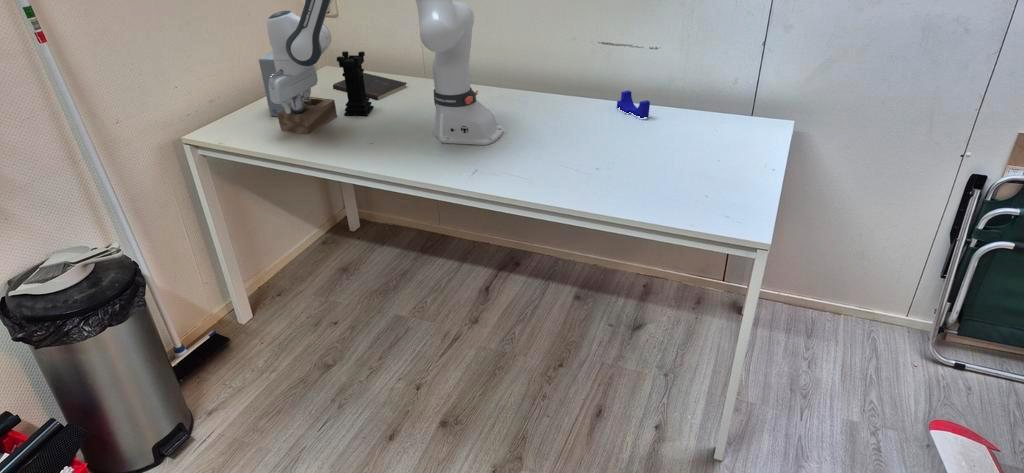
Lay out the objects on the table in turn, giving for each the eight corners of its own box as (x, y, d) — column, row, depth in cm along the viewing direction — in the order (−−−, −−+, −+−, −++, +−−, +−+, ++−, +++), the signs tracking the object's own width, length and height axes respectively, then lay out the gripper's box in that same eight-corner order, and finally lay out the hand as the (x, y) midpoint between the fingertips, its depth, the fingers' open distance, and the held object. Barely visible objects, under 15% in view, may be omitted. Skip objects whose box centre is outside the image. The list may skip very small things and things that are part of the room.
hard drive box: (290, 117, 223) (278, 60, 213) (269, 116, 224) (256, 59, 214) (309, 101, 236) (299, 46, 226) (289, 100, 237) (278, 45, 227)
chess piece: (373, 107, 230) (365, 51, 219) (367, 116, 223) (358, 58, 212) (351, 107, 230) (342, 50, 220) (344, 116, 224) (334, 58, 213)
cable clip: (616, 109, 225) (617, 92, 222) (627, 107, 226) (628, 90, 223) (637, 121, 216) (638, 104, 212) (648, 118, 217) (650, 101, 214)
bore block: (337, 116, 223) (334, 99, 220) (309, 134, 211) (305, 117, 208) (310, 112, 227) (306, 96, 224) (281, 130, 214) (277, 113, 211)
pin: (309, 120, 215) (302, 91, 210) (302, 124, 213) (295, 95, 207) (300, 119, 217) (292, 90, 211) (293, 123, 214) (286, 94, 208)
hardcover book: (363, 78, 258) (362, 72, 257) (407, 88, 247) (406, 82, 246) (333, 90, 247) (332, 84, 246) (377, 101, 236) (377, 95, 235)
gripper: (277, 76, 195) (286, 120, 203) (317, 56, 211) (324, 97, 219) (259, 74, 197) (269, 118, 205) (300, 55, 213) (308, 95, 221)
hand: (298, 107), depth 212 cm, fingers open, 8 cm apart
